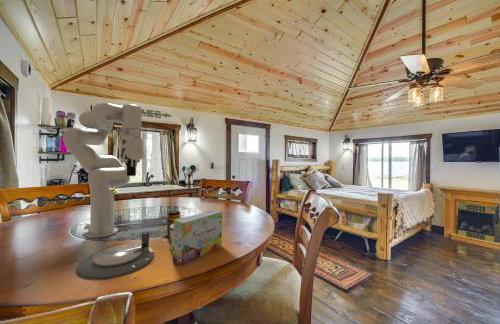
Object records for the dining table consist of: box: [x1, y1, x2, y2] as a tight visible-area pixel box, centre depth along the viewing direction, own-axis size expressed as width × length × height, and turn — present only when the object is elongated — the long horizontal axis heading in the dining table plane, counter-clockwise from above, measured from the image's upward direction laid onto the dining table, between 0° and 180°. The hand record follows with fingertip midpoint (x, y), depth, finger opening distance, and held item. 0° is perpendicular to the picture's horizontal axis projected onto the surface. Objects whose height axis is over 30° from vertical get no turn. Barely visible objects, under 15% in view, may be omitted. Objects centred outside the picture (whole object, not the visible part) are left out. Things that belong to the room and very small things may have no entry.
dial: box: [93, 231, 150, 268], centre depth 78 cm, size 18×15×6 cm
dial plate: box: [76, 244, 155, 279], centre depth 77 cm, size 23×23×1 cm
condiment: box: [160, 210, 182, 242], centre depth 101 cm, size 7×8×12 cm
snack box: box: [172, 209, 223, 266], centre depth 84 cm, size 21×6×15 cm, turn 148°
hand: (131, 175), depth 95 cm, fingers closed
